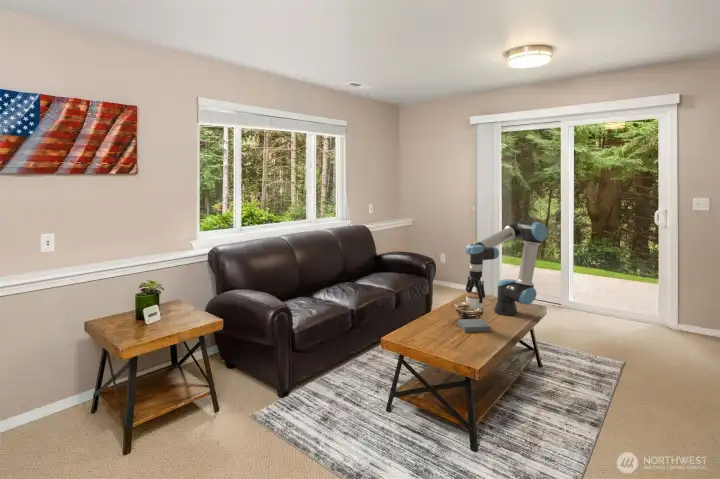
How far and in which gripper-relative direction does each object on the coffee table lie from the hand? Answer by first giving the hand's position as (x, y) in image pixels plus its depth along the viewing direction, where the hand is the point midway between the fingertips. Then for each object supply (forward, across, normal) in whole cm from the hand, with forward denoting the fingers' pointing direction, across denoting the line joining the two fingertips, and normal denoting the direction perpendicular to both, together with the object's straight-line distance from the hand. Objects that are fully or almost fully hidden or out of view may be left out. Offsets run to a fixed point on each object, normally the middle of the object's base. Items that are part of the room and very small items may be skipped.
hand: (474, 305), depth 257 cm
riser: (+14, 0, 0) cm, 14 cm away
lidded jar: (+1, 0, 0) cm, 1 cm away
